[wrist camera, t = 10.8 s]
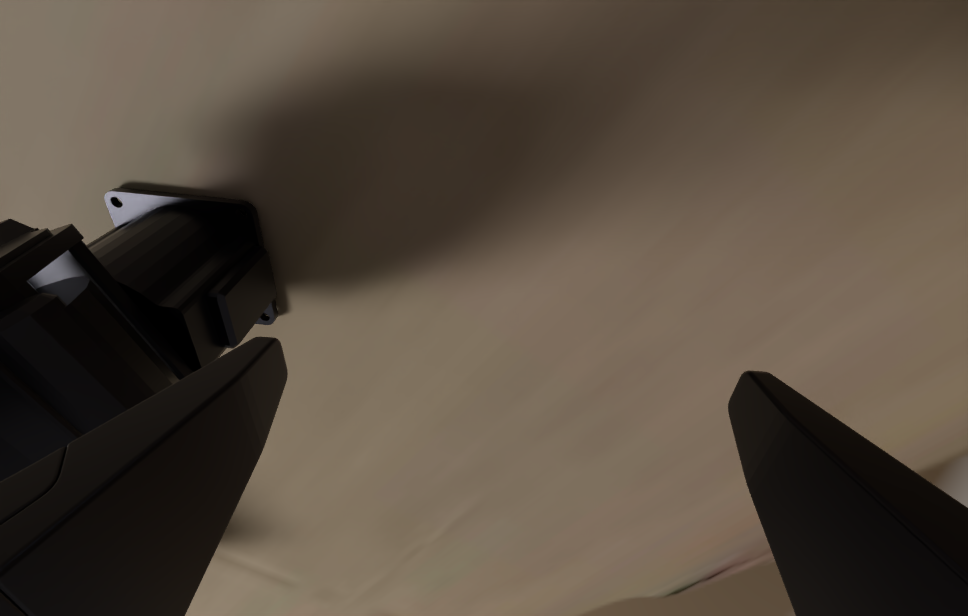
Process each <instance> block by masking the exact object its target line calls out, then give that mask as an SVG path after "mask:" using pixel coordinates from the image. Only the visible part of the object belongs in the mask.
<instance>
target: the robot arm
mask: <svg viewBox="0 0 968 616" xmlns="http://www.w3.org/2000/svg"><path fill="white" fill-rule="evenodd" d="M104 198H105V202H106V205H107V207H108V210H109V212H110V215H111V217H112V220H113V222H114V225H115V228H114V229H112V230H111V231H109V232H108V233H106V234H104V235H103V236H101V237H99V238H98V239H96V240H94V241H93V242H91V243H89V244H88V245H85V244H84V243H83V241H82V239H83V238H84V237H83V236H82V235H81V234H80V233H79V232H78V230H77V229H76V228H75V227H74V226H73V224H69V225H66V226H63V227H60V228H57V229H54V230H51V231H49V230H48V228H45V229H42V230H39V229H38V228H35V229H34V228H31V227H29V226H26V225H24V224H21V223H19V222H17V221H14V220H12V219H8V220H5V221H2V222H0V616H185V614H186V612H187V610H188V608H189V606H190V603H191V601H192V599H193V597H194V595H195V593H196V591H197V589H198V587H199V584H200V582H201V580H202V578H203V576H204V574H205V572H206V570H207V568H208V565H209V563H210V561H211V559H212V557H213V555H214V553H215V551H216V549H217V546H218V544H219V542H220V540H221V538H222V536H223V534H224V532H225V529H226V527H227V525H228V523H229V521H230V519H231V517H232V515H233V513H234V510H235V508H236V506H237V504H238V502H239V500H240V498H241V496H242V494H243V491H244V489H245V487H246V485H247V483H248V481H249V479H250V477H251V475H252V472H253V470H254V468H255V466H256V464H257V462H258V460H259V457H260V455H261V453H262V451H263V448H264V445H265V443H266V440H267V437H268V434H269V431H270V428H271V425H272V422H273V420H274V417H275V414H276V411H277V408H278V405H279V402H280V399H281V396H282V393H283V390H284V387H285V384H286V381H287V367H286V362H285V358H284V354H283V350H282V346H281V343H280V341H279V340H278V339H276V338H271V337H255V338H253V339H251V340H249V341H248V342H246V343H244V344H242V345H241V346H239V347H237V348H235V347H236V346H237V345H238V344H239V343H240V342H241V341H242V340H243V338H244V337H245V336H246V334H247V333H248V332H249V331H250V329H251V328H252V327H253V325H254V324H263V325H270V324H272V323H273V322H274V321H275V320H276V318H277V317H278V311H277V307H276V302H275V297H276V295H277V293H276V288H275V283H274V278H273V273H272V268H271V263H270V258H269V253H268V251H267V250H266V248H265V247H264V244H263V239H262V234H261V229H260V224H259V219H258V215H257V211H256V208H255V207H254V206H253V205H252V204H251V203H249V202H248V201H244V200H236V199H225V198H215V197H205V196H195V195H185V194H175V193H165V192H155V191H145V190H134V189H124V188H114V189H112V190H110V191H109V192H107V193H106V194H105V196H104ZM117 198H119V199H120V200H121V202H122V203H121V202H119V201H118V199H117ZM240 209H242V210H244V211H245V212H246V213H247V216H244V215H243V214H242V213H241V212H240ZM264 313H266V314H268V315H269V316H266V315H265V314H264ZM226 348H235V349H234V350H232V351H230V352H228V353H227V354H225V355H223V356H221V357H220V355H221V354H222V353H223V352H224V350H225V349H226ZM219 357H220V358H219ZM728 412H729V417H730V421H731V425H732V429H733V433H734V437H735V441H736V445H737V448H738V452H739V456H740V460H741V464H742V468H743V472H744V476H745V479H746V483H747V486H748V489H749V492H750V494H751V497H752V500H753V503H754V505H755V508H756V511H757V513H758V516H759V519H760V521H761V524H762V527H763V529H764V532H765V535H766V537H767V540H768V543H769V545H770V548H771V551H772V553H773V556H774V559H775V561H776V564H777V566H778V569H779V572H780V575H781V577H782V580H783V582H784V585H785V588H786V590H787V593H788V596H789V598H790V601H791V603H792V606H793V609H794V612H795V614H796V616H968V508H967V507H966V506H964V505H962V504H961V503H960V502H958V501H957V500H955V499H953V498H952V497H951V496H949V495H948V494H946V493H945V492H944V491H942V490H941V489H939V488H938V487H936V486H935V485H933V484H932V483H930V482H929V481H927V480H926V479H924V478H923V477H922V476H920V475H919V474H917V473H916V472H914V471H913V470H911V469H910V468H908V467H907V466H905V465H904V464H902V463H901V462H900V461H898V460H897V459H895V458H894V457H892V456H891V455H889V454H888V453H886V452H885V451H883V450H882V449H880V448H879V447H878V446H876V445H875V444H873V443H872V442H870V441H869V440H867V439H866V438H864V437H863V436H861V435H860V434H858V433H857V432H855V431H854V430H853V429H851V428H850V427H848V426H847V425H845V424H844V423H842V422H841V421H839V420H838V419H836V418H835V417H833V416H832V415H831V414H829V413H828V412H826V411H825V410H823V409H822V408H820V407H819V406H817V405H816V404H814V403H813V402H811V401H810V400H808V399H807V398H806V397H804V396H803V395H801V394H800V393H798V392H797V391H795V390H794V389H792V388H791V387H789V386H788V385H786V384H785V383H784V382H782V381H781V380H779V379H778V378H776V377H775V376H773V375H772V374H770V373H768V372H762V371H745V372H744V373H743V374H742V375H741V377H740V379H739V381H738V383H737V385H736V387H735V389H734V391H733V394H732V396H731V398H730V400H729V404H728Z"/></svg>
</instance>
